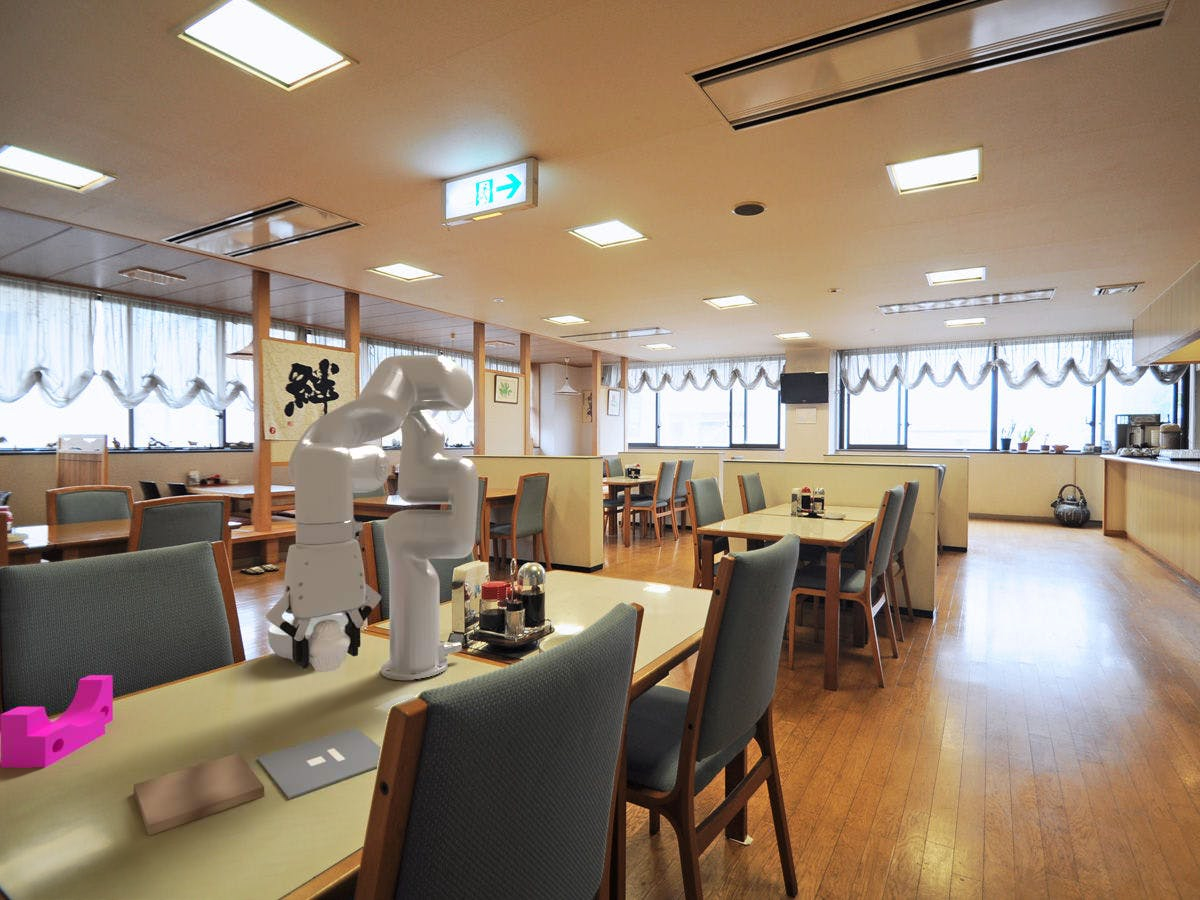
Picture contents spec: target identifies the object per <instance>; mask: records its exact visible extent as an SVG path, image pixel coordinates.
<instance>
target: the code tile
mask: <svg viewBox="0 0 1200 900" xmlns="http://www.w3.org/2000/svg"><path fill="white" fill-rule="evenodd" d="M381 748H382V747H381V746H379V744H377V743H376V742H374V740H372V739H371V738H370V737H369V736H367V735H366V734H365V733H364V732H363V731H361V730H360V729H359V728H357V727H350V728H348V729H344V730H342V731H338V732H335V733H332V734H328V735H324V736H322V737H319V738H315V739H312V740H308V741H306V742H302V743H299V744H296V745H292V746H289V747H286V748H282V749H280V750H276V751H272V752H269V753H266V754H263V755H260V756H256V759H257V762H259V764H260V765H261V767H263V768H264V770H265V771H266V772H267V774H268V776H270V777H271V779H272V780H273V781H274V783H275V784H276V785H277V786H278V788H279V789H280V790H281V792H282V793H283V794H284V796H286V798H287V799H288V800H291V799H294V798H298V797H299V796H302V795H305V794H308V793H311V792H314V791H317V790H319V789H322V788H325V787H328V786H330V785H333V784H336V783H338V782H342V781H344V780H347V779H349V778H352V777H355V776H358V775H361V774H363V773H367V772H369V771H373V770H375V769H378V768H377V765H378V760H379V755H380V749H381Z"/></svg>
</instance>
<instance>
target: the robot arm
mask: <svg viewBox="0 0 1200 900" xmlns="http://www.w3.org/2000/svg"><path fill="white" fill-rule="evenodd" d="M469 374H470V373H469V372H467V370H466V369H465V368H463V367H462V366H460V365H459V364H458V363H457V362H455V361H454V360H452V359H450V358H448V357H445V356H443V355H437V354H413V355H412V354H411V355H409V354H407V355H402V354H401V355H393V356H392V355H391V356H388V357H387V358H384V359H382V361H381V362H380V363H378V366H377V367H376V368H375V370H374V372H373V373H372V374H371V377H369V380H368V381H367V382H366V384H365V385H364V387H363V389H362V391H361V392H360V394H359V395H358V396H357V397H356V399H354V400H351V401H349V402H347V403H345V404H342V405H341V406H338V407H337V408H335V409H334V410H332V411H330V412H327V413H325V414H324V415H323V416H321V417H319V418H318V419H316V420H315V421H314V422H312V423H311V424H310V425H309V426H308V427H307V429H305V431H304V432H303V434H302V435H301V436H300V438H299V440H298V442H296V445H295V447H294V448H293V449H292V452H291V454H290V458H289V462H288V469H287V470H288V476H289V479H290V482H291V483H292V485H294V511H295V512H294V515H295V517H294V518H295V519H294V520H295V544H291V545H289V547H288V551H287V556H286V562H285V569H284V570H285V571H284V583H283V596H282V597H281V598H280V599H279V600H278V601H277V602H276V603H275V604H274V605H273V607H272V608H271V609H270V610H269V611H268V613H267V614H266V615H265V619H266V620H267V621H268V622H270V623H271V624H272V625H275V626H277V627H278V628H280V629H281V630H282V631H284V632H285V633H287V634H288V635H289V636H291V637H292V657H293V661H294V662H293V661H292V662H293V663H295V664H296V665H297V666H298V667H300V668H301V669H302V670H304V669H308V668H309V667H310V663H309V645H308V640H307V639H306V638H305V633H306V630H307V628H308V625H309V623H310V620H311V618H317V617H322V616H327V615H338V614H340V613H341V614H343V613H344V616H346V618H347V620H348V624H346V626H345V633H346V634H347V635H348V636H349V637H350V645H349V647H348V651H347V653H346V654H348V655H351V656H352V657H357V656H358V655H359V648H361V646H362V645H361V628H362V627H364V622H365V621H366V620H367V619H368V617H369V616H370V615H371V613H372V612H373V609H375V607H376V606H378V603H380V601H381V600H382V595H381V594H379V593H378V592H377V591H376V590H374V589H373V587H371V586H370V585H368V584H367V583H366V576H365V568H364V561H363V556H362V550H361V546H360V543H359V542H360V541H359V540H358V539H355V538H356V533H358V532H360V531H363V530H364V524H363V522H362V521H357V520H356V519H355V518H354V494H355V493H357V494H358V493H360V494H361V493H371V492H374V491H377V490H379V489H380V488H381V487H383V486H384V484H385V483H386V482H387V481H388V479H389V475H390V471H391V463H390V459H389V456H388V455H387V453H386V451H385V450H384V449H382V448H381V447H379V446H378V445H375V444H372V443H369V442H372V441H376V440H378V439H382V438H384V437H387V436H390V435H392V434H394V433H396V432H397V431H398V430H400V431H401V437H402V438H401V449H400V459H399V466H398V467H399V468H398V476H397V477H398V478H397V491H398V495H399V498H400V499H401V500H402V501H404V502H406V503H410V504H417V505H451V509H405V510H400V511H396V512H394V513H393V514H391V515H390V516H389V517H388V518H387V520H385V524H384V526H383V540H384V545H385V551H386V555H387V556H386V558H387V561H388V562H387V563H388V573H389V574H388V578H389V579H388V582H389V590H388V591H389V605H388V606H389V608H388V609H389V660H386V662H384V663H383V664H382V665H381V675H382V676H383V677H385V678H387V679H389V680H393V681H394V680H395V681H415V680H414V679H419V680H421V679H420V678H424V677H428V676H432V675H436V674H438V675H440V674H442V673H444V672H445V671H446V670H447V669H448V665H449V664H448V663H449V661H448V659H447V656H449V654H454V653H458V652H461V651H462V650H463V645H462V643H461V642H460V641H456V642H453V643H450V642H449V641H444V642H442V641H441V639H440V637H441V636H440V631H441V630H440V628H441V627H440V625H441V624H440V622H441V621H440V619H441V618H440V617H441V615H440V608H441V607H440V579H439V575H438V573H437V570H436V569H435V567H434V566H433V565H432V563H431V562H430V560H431V559H448V560H450V559H455V560H457V559H464V558H467V557H468V556H469V555H471V553H472V551H473V549H474V545H475V541H476V531H477V517H478V515H477V514H478V503H479V499H478V498H479V472H478V470H477V467H476V465H475V463H474V462H473V461H472V460H471V459H469V458H466V457H462V456H461V457H459V456H445V441H446V437H445V436H446V435H445V433H444V431H443V429H442V427H441V426H440V424H439V423H438V422H437V420H436V419H434V417H433V416H432V415H431V414H430V413H429V411H431V412H433V411H434V412H436V411H438V412H441V411H443V412H445V411H446V412H447V411H448V412H449V411H453V412H456V411H463V410H465V409H467V408H468V407H469V406H470V404H471V402H472V401H473V396H474V385H473V381H472V378H471V376H470V375H469ZM284 613H287V614H290V615H291V614H292V616H293V618H292V619H293V621H292V624H290V623H288V622H287V620H286V619H284V618H283V614H284ZM443 671H444V672H443ZM441 672H442V673H441ZM439 673H440V674H439ZM436 676H437V675H436ZM432 677H433V676H432Z"/></svg>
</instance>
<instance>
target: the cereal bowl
mask: <svg viewBox="0 0 1200 900" xmlns="http://www.w3.org/2000/svg"><path fill="white" fill-rule="evenodd" d="M293 619H294V618H291V619H288V620H286V621H287V622H288V623H290V624H292V621H293ZM326 619H328V620H329V619H331V620H336V621H338V622H339V623H340V628H341V629H342V630H343V631H344V633H345V626H346V624H348V620H347V618H346V616H345V614H344V615H343V614H332V615H327V616H322V617H317V618H311V620H310V623H309V625H308V628H307V630H306V633H305V638H306V639H307V638H309V637H310V635H311V633H312V632H313V628H314V626H315V625H316V624H317V623H318V622H320V621H323V620H326ZM267 639H268V644H269V647H270V649H271V650H272V652H273V653H275V654H276V655H277V656H279V657H281V658H285V659H288V660H291V661H292V662H293V657H292V637H291V636H289V635H288V634H287V633H285V632H284V631H282V630H281V629H280V628H278V627H277V626H275V625H274V624H272V625H271V626H269V628H268V630H267ZM309 664H311V662H310V661H309Z"/></svg>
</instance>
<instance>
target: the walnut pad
mask: <svg viewBox="0 0 1200 900" xmlns="http://www.w3.org/2000/svg"><path fill="white" fill-rule="evenodd" d="M133 795H134V799H135V801H136V803H137V806H138V807H137V808H138V809H139V812H140V815H141V818H142V821H143V824H144V827H145V829H146V832H147V835H148V836H152V835H155V834H158V833H162V832H163V831H166V830H169V829H172V828H176V827H178V826H181V825H184V824H187V823H191V822H193V821H195V820H198V819H199V820H200V819H202V818H205V817H207V816H210V815H213V814H216V813H219V812H222V811H224V810H228V809H230V808H234V807H236V806H239V805H242V804H245V803H247V802H250V801H254V800H256V799H259V798H262V797H265V785H264V784H263V783H262V782H261V780H260V779H259V778H258V776H257V775H256V773H255V772H254V771H253V769H252V767H250V765H249V764H248V763H247V761H246V760H245V759H244V757H243V756H242V754H241V753H240V752H238V753H234V754H231V755H228V756H227V755H226V756H225V757H222V758H217V759H214V760H211V761H207V762H204V763H201V764H197V765H193V766H190V767H188V768H187V767H186V768H184V769H180V770H177V771H174V772H170V773H167V774H164V775H161V776H156V777H153V778H150V779H147V780H143V781H140V782H136V783H134V784H133Z"/></svg>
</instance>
